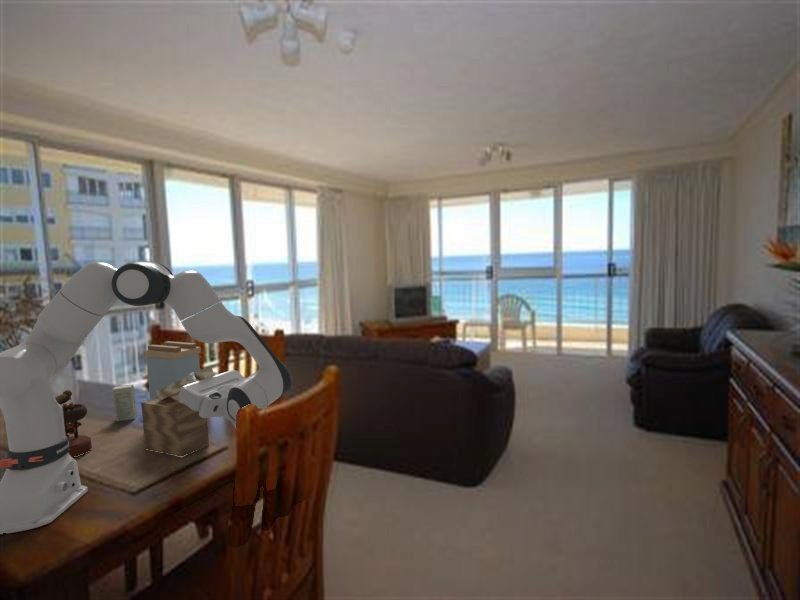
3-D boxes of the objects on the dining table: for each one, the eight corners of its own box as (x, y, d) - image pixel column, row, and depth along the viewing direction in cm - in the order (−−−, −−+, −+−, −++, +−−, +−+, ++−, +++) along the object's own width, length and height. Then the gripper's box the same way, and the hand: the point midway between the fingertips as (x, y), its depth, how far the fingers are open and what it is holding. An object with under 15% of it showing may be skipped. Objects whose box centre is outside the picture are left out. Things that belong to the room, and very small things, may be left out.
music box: (83, 459, 137) (69, 394, 134) (41, 467, 134) (26, 401, 132) (103, 439, 152) (91, 380, 149) (65, 446, 149) (52, 386, 147)
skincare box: (137, 415, 175) (134, 383, 173) (134, 419, 171) (131, 386, 169) (117, 417, 173) (114, 385, 171) (114, 421, 169) (111, 389, 167)
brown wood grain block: (209, 445, 145) (205, 398, 143) (181, 458, 136) (177, 408, 134) (173, 437, 152) (169, 393, 150) (145, 449, 143) (141, 402, 141)
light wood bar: (214, 376, 136) (211, 366, 136) (205, 379, 133) (201, 369, 133) (169, 397, 146) (166, 388, 146) (159, 400, 143) (156, 391, 143)
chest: (206, 420, 167) (200, 342, 164) (179, 431, 157) (173, 348, 154) (176, 415, 173) (170, 340, 170) (150, 425, 163) (143, 346, 160)
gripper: (258, 381, 141) (227, 356, 145) (203, 401, 122) (170, 372, 127) (251, 397, 143) (220, 372, 147) (197, 420, 124) (164, 390, 129)
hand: (196, 372), depth 137 cm, fingers closed on light wood bar, 3 cm apart
